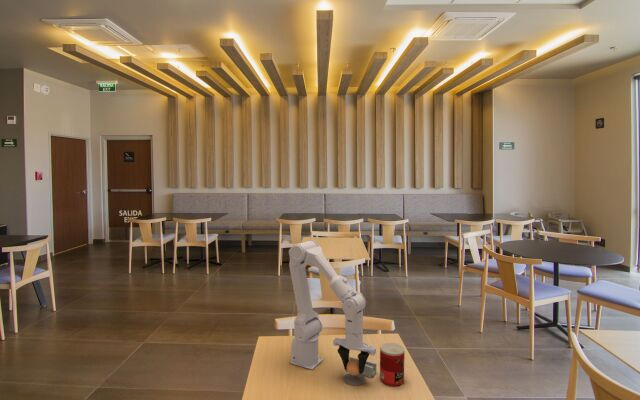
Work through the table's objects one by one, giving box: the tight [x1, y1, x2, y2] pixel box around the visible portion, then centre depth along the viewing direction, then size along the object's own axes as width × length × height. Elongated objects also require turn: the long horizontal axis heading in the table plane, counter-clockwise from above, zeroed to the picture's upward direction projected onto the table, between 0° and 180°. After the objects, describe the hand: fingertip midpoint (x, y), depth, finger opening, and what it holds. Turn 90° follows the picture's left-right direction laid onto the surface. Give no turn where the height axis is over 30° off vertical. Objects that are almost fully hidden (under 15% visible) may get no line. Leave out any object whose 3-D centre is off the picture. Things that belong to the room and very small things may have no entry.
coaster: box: [343, 373, 366, 387], centre depth 125 cm, size 7×7×1 cm
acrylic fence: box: [345, 355, 377, 378], centre depth 130 cm, size 10×3×4 cm, turn 60°
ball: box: [346, 359, 359, 376], centre depth 125 cm, size 5×5×5 cm
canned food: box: [379, 342, 405, 387], centre depth 125 cm, size 8×8×11 cm
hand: (354, 370), depth 125 cm, fingers closed on ball, 5 cm apart
